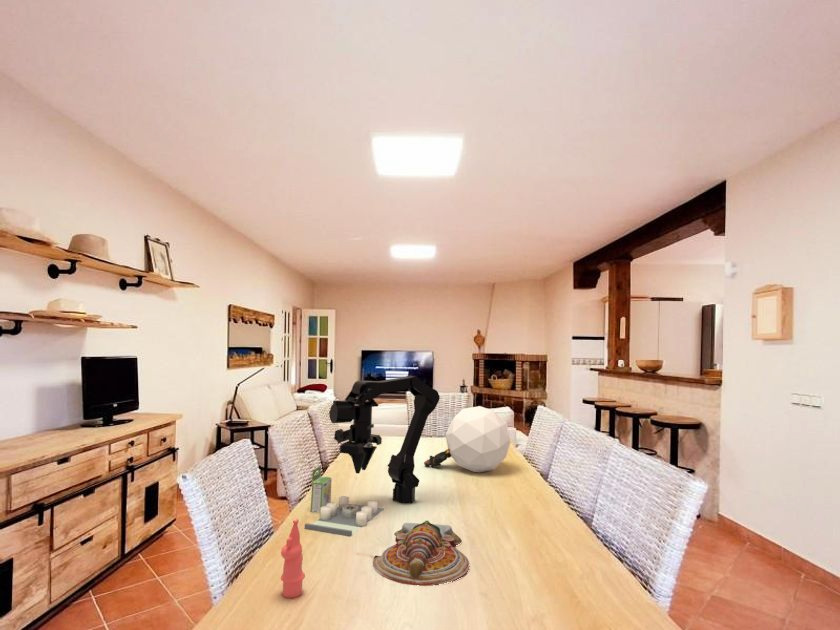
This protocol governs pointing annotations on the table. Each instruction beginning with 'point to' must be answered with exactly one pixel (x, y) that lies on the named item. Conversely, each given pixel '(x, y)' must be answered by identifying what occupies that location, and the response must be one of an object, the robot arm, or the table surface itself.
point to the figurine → (292, 564)
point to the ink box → (320, 491)
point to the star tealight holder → (349, 511)
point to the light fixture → (475, 440)
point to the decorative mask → (423, 556)
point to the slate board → (339, 523)
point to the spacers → (331, 508)
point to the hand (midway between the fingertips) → (360, 471)
